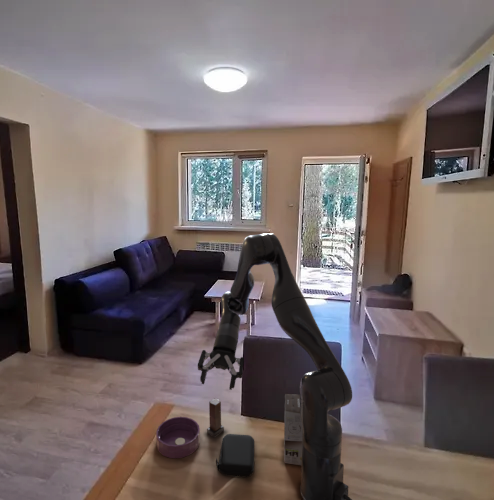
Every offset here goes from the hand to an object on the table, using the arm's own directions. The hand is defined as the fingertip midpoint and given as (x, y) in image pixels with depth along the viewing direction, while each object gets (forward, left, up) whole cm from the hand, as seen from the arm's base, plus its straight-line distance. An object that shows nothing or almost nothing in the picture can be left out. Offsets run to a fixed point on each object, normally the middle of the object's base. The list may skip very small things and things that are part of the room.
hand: (216, 385), depth 101 cm
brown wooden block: (+3, -2, -18) cm, 19 cm away
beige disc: (+7, +9, -18) cm, 21 cm away
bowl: (+8, +9, -18) cm, 22 cm away
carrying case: (-9, +1, -19) cm, 21 cm away
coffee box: (-20, -12, -19) cm, 30 cm away
